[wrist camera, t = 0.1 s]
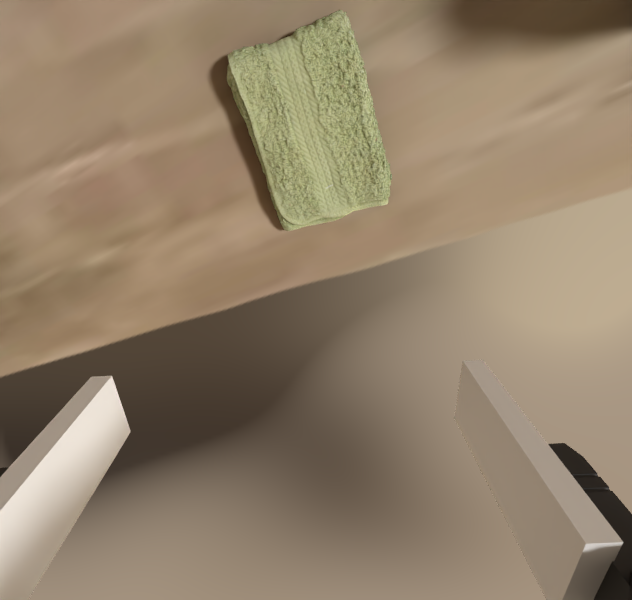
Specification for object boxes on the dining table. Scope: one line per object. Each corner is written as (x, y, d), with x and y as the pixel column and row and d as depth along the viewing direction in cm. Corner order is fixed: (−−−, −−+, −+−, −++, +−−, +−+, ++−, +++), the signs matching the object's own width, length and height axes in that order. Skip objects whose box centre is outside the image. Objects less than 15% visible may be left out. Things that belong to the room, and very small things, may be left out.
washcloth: (284, 233, 42) (282, 241, 39) (220, 60, 34) (212, 53, 32) (395, 197, 40) (402, 202, 37) (353, 8, 33) (357, -5, 30)
